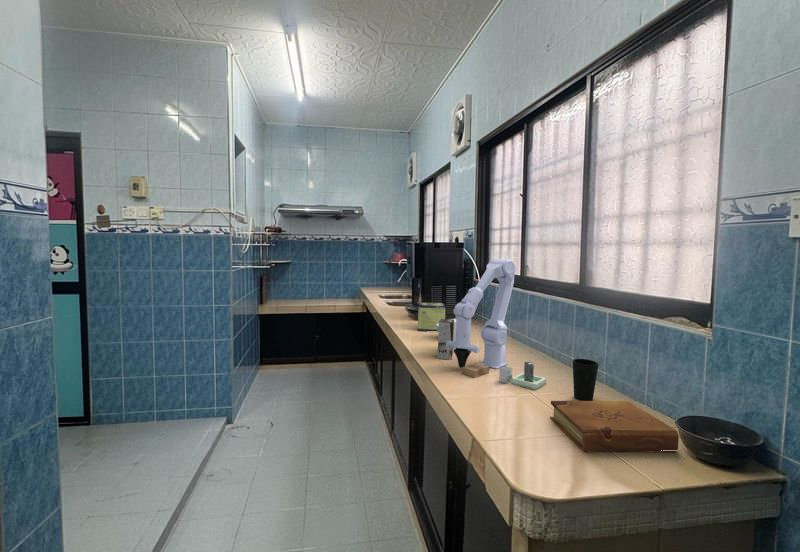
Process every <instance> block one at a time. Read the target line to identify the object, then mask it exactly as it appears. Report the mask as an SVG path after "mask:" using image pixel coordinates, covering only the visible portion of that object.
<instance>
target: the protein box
mask: <svg viewBox="0 0 800 552" xmlns="http://www.w3.org/2000/svg"><path fill="white" fill-rule="evenodd" d="M440 319H446V304H445V303H444V302H443V303H442V302H418V313H417V331H418V332H427V331H437V327H436V324H438V323H439V321H440Z"/></svg>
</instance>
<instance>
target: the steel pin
mask: <svg viewBox="0 0 800 552" xmlns="http://www.w3.org/2000/svg"><path fill="white" fill-rule="evenodd" d="M523 366H524V367H523V373H524V381H528V382H532V383H533V377H534V376H535V375H534V373H535V370H534V368H535V367H534V366H535V362H532V361H525V362H524V365H523Z"/></svg>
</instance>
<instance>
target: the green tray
mask: <svg viewBox="0 0 800 552" xmlns="http://www.w3.org/2000/svg"><path fill="white" fill-rule="evenodd" d="M510 383H511V385H515V386H519V387H522V388H526V389H530V390H534V391H537V390H539V389H540V388H542V387H544V386H545V385H546V384H547V378H546V377H542V376H538V375H534V377H533V383H532V382H528V381H524V372H520V373H519V374H517V375H515V376H512V378H511V382H510Z"/></svg>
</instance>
